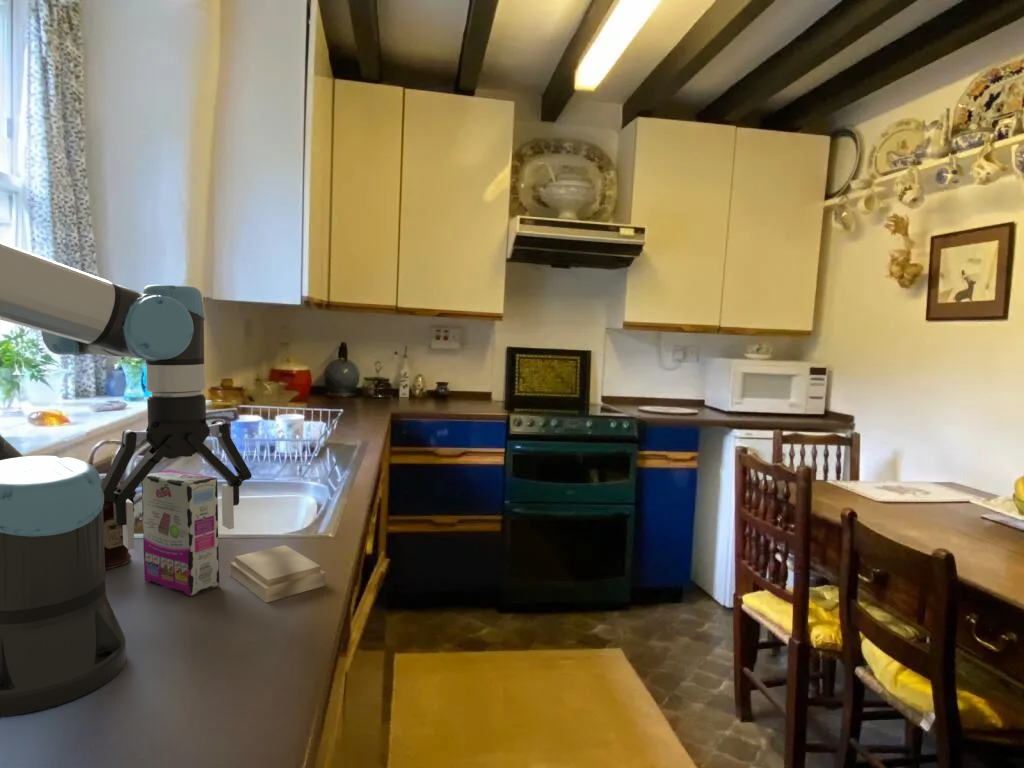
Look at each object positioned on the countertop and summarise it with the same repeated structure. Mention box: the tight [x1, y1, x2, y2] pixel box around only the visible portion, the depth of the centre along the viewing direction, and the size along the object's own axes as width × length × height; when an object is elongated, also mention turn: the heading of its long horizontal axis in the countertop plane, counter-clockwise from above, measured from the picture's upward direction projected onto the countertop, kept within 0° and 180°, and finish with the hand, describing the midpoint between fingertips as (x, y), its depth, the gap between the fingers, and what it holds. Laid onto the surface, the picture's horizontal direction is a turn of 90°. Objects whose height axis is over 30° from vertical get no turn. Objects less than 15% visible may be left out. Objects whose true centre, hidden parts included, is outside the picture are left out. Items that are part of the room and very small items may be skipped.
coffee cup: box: [100, 478, 137, 570], centre depth 103 cm, size 9×8×13 cm
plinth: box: [229, 544, 326, 603], centre depth 98 cm, size 9×13×3 cm
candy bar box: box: [141, 469, 220, 597], centre depth 95 cm, size 11×5×16 cm, turn 62°
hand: (180, 536), depth 95 cm, fingers open, 13 cm apart
